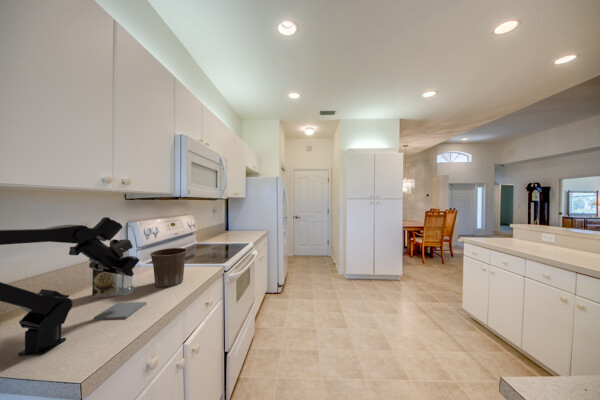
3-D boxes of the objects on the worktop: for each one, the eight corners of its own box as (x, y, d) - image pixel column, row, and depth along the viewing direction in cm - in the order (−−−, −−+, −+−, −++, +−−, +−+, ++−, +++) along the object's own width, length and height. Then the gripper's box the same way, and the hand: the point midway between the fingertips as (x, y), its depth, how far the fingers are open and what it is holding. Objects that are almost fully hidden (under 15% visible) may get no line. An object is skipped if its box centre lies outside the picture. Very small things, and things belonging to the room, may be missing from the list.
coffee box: (91, 298, 93) (91, 260, 93) (100, 292, 99) (100, 256, 100) (116, 296, 96) (116, 259, 96) (124, 290, 102) (124, 255, 102)
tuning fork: (124, 295, 82) (125, 263, 82) (118, 294, 83) (119, 262, 83) (133, 292, 85) (134, 261, 85) (127, 291, 86) (128, 260, 86)
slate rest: (126, 318, 78) (126, 316, 78) (93, 319, 77) (93, 317, 77) (146, 303, 89) (146, 301, 89) (117, 304, 88) (117, 302, 88)
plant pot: (168, 291, 101) (168, 256, 101) (141, 287, 105) (141, 254, 105) (194, 279, 117) (194, 248, 117) (169, 276, 121) (169, 247, 121)
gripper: (134, 234, 78) (162, 258, 88) (100, 232, 84) (129, 255, 94) (108, 261, 70) (141, 285, 80) (72, 257, 76) (107, 279, 86)
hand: (130, 274), depth 85 cm, fingers closed on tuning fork, 2 cm apart
